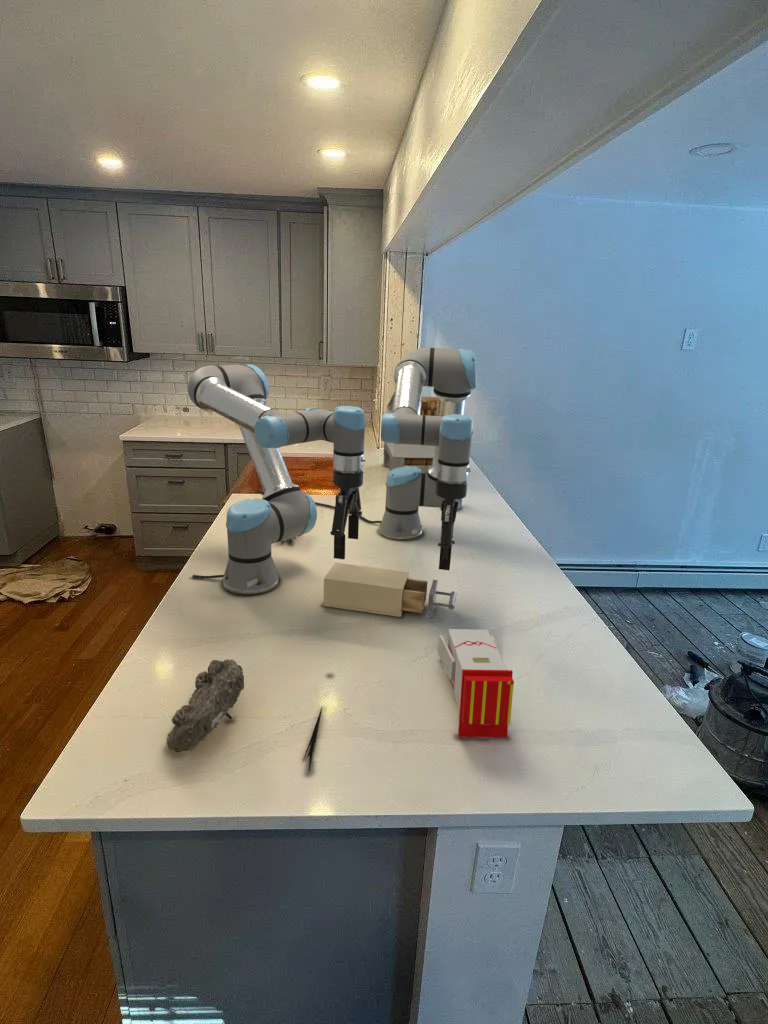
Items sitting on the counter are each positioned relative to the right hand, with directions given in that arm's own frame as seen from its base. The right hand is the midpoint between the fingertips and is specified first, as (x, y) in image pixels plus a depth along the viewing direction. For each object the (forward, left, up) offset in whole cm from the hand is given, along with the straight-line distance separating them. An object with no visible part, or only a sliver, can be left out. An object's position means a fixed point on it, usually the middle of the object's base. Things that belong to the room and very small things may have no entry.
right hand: (444, 568), depth 145 cm
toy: (+27, -19, -13) cm, 35 cm away
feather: (+14, -48, -13) cm, 52 cm away
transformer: (-100, +89, -13) cm, 134 cm away
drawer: (-7, -5, -12) cm, 15 cm away
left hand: (-20, -16, +2) cm, 26 cm away
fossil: (+2, -64, -13) cm, 65 cm away
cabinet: (-16, -12, -13) cm, 24 cm away
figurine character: (-66, -5, -13) cm, 68 cm away
